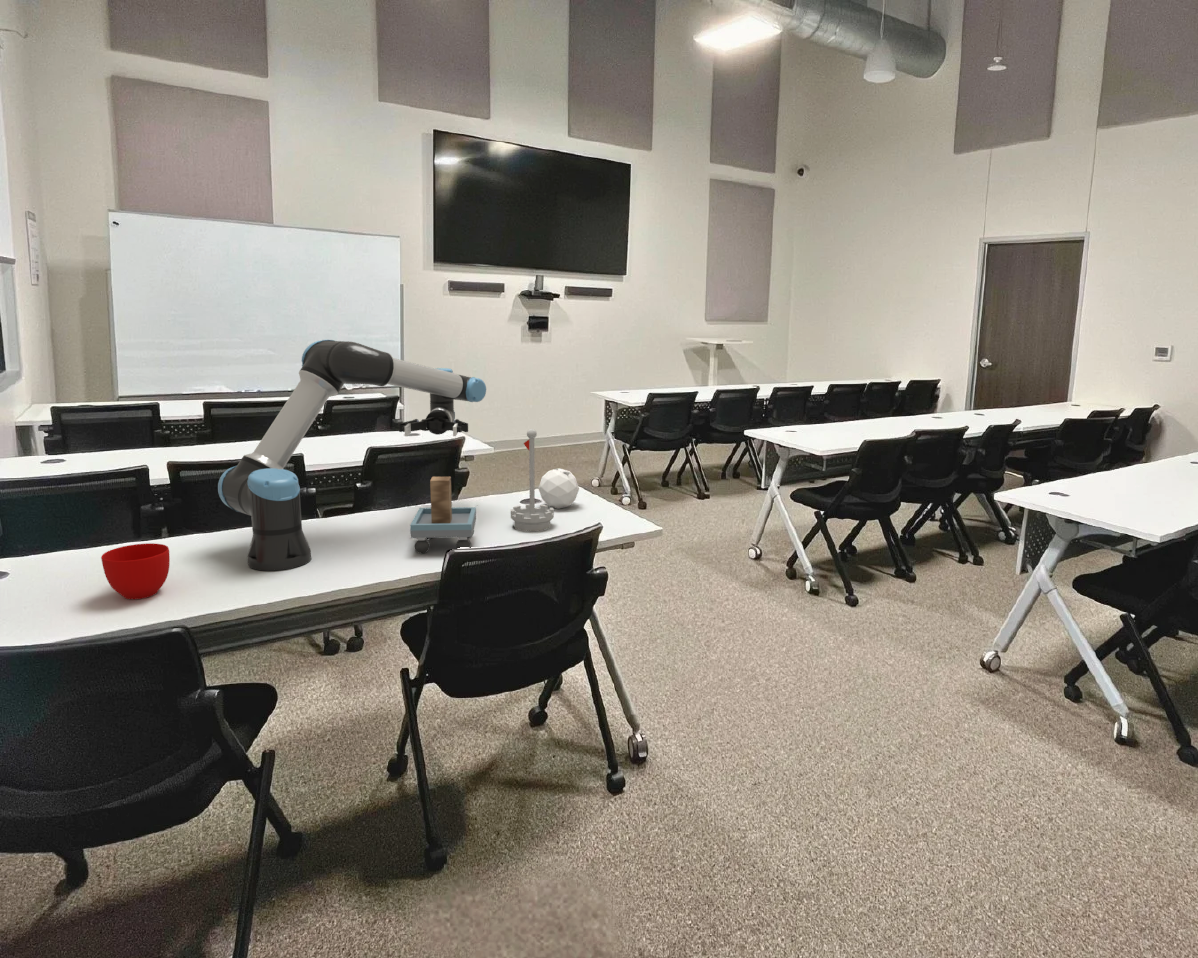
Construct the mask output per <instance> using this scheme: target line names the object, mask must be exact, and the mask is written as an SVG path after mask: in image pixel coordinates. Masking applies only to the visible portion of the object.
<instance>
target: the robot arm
mask: <svg viewBox="0 0 1198 958" xmlns="http://www.w3.org/2000/svg"><path fill="white" fill-rule="evenodd" d="M301 363H302V364H301V368H300V370H299V371H298V374H299V379H300V380H299V382H298V383H297V385H296V387H295V388H294V390H293V391H292V392H291V394H290V396H289V398H288V399H287V401H285V403H284V405H283V407H282V408H281V410H280V411H279V412H278V414H277V416H276V417H275V419H274V420H273V421H272V423H271V425H270V426H269V428H268V429H267V430H266V432H265V434H264V435H263V437H262V439H261V440H260V442H259V443H258V444H257V446H256V448H255V449H254V451H253V452H252V453H248V454H244V455H243V456H242V458H241V459H240V461H239V462H238V463H237V465H235V466H231V467H230V468H227V469H226V470H225V471H224V472H223V473H222V474H221V476H220V478H219V480H218V483H217V492H218V496H219V498H220V500H221V502H222V503H223V504H224V505H225V506H227V507H228V508H230V509H231V510H233V511H235V512H237V513H242V514H245V515H248V516H251V519H250V520H251V528H252V536H251V537H252V538H251V542H250V545H249V549H248V552H247V555H246V556H247V566H248V568H250V569H252V570H257V571H269V572H270V571H283V570H289V569H290V570H291V569H295V568H298V567H300V566H303V565H307V563H309V562H310V561H311V560H312V550H311V548H310V545H309V542H308V540H307V538H306V536H305V533H304V531H303V523H302V521H303V520H302V509H301V508H302V507H301V495H300V493H301V487H300V485H299V478H298V476H297V475H296V473H294V472H293V471H290V470H288V469H285V467H286V465H287V464H288V462H289V461H290V459H291V458H292V456H293V454H294V452H295V451H296V449H297V448H298V446H299V444H300V443H301V442H302V440H303V439H304V436H305V435H306V434H307V432H308V430H309V429H310V427H311V426H312V425H313V423H314V422H315V420H316V419H317V417H318V415H319V413H320V412H321V411H322V409H323V408H324V405H325V404H326V403H327V401H328V399H329V398H330V397H335V396H337V395H338V393H340V392H341V389H343V386H344V385H368V386H369V385H370V386H377V387H386V386H387V385H389V386H395V387H399V388H404V389H409V390H413V391H417V392H418V391H419V392H423V393H427V394H429V398H430V399H429V411H430V412H429V413H428V414H427V415H426V418H424V419H421V420H420V421H419V419H417V418H414V419H413V420H408V421H407V420H406V421H403V422H398V432H399V433H402V432H403V433H404V437H408V436H410V435H411V433H412V432H417V431H422V432H423V431H424V432H430V433H431V434H433V435H439V436H440V435H443V434H445V433H446V432H448V431H449V432H450V431H451V432H452V436H453V437H457V435H458V434H459V433H462V432H465V433H469V423H467V422H465V421H463V420H460V419H459V418H456V412H455V410H454V409H455V408H454V407H455V406H454V405H455V404H454V402H455V401H454V400H456V401H463V402H468V403H469V402H470V403H478V402H481V401H483V399H484V398H485V397H486V393H487V386H486V383H485V382H484V380H483V379H481V378H478V377H475V376H472V377H471V376H467V375H466V376H465V375H461V374H457V373H454V372H453V369H451V368H447V367H445V368H444V367H440V368H439V367H437V368H436V367H435V368H434V367H431V366H426V365H422V364H419V363H415V362H411V361H406V360H403V359H398V358H395V357H393V356H392V354H391V353H389V352H386V351H382V350H378V349H377V348H373V347H370V346H367V345H364V344H361V343H360V342H355V341H344V340H343V341H341V340H333V339H322V340H317V341H314V342H312V343H310V344H309V345H307V347H306V348H305V349H304V351H303V353H302V355H301Z"/></svg>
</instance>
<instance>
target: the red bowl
mask: <svg viewBox="0 0 1198 958" xmlns="http://www.w3.org/2000/svg"><path fill="white" fill-rule="evenodd" d="M100 559H101V564H102V568H103V572H104V574H105V575H104V576H105V578H106V580H107V582H108V584H109V585H110V587H111V589H113V590H114V591H115V592H116V593H118V594H119V595H121V596H122V597H123V598H124V599H126V600H141V599H147V598H149V597H153V596H154V595H156V594H157V593H158V592H159V590H161V589H162V587H163V585H164V584H165V582H166V580H167V578H168V576H169V571H170V562H171V561H170V559H171V558H170V548H169V546H167V545H166V544H162V543H152V542H151V543H150V542H149V543H136V544H130V545H124V546H121V547H120V546H119V547H116V548H114V549H113V548H112V549H110V550H107V551H106V552H104V553H102V555H101V557H100Z"/></svg>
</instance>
